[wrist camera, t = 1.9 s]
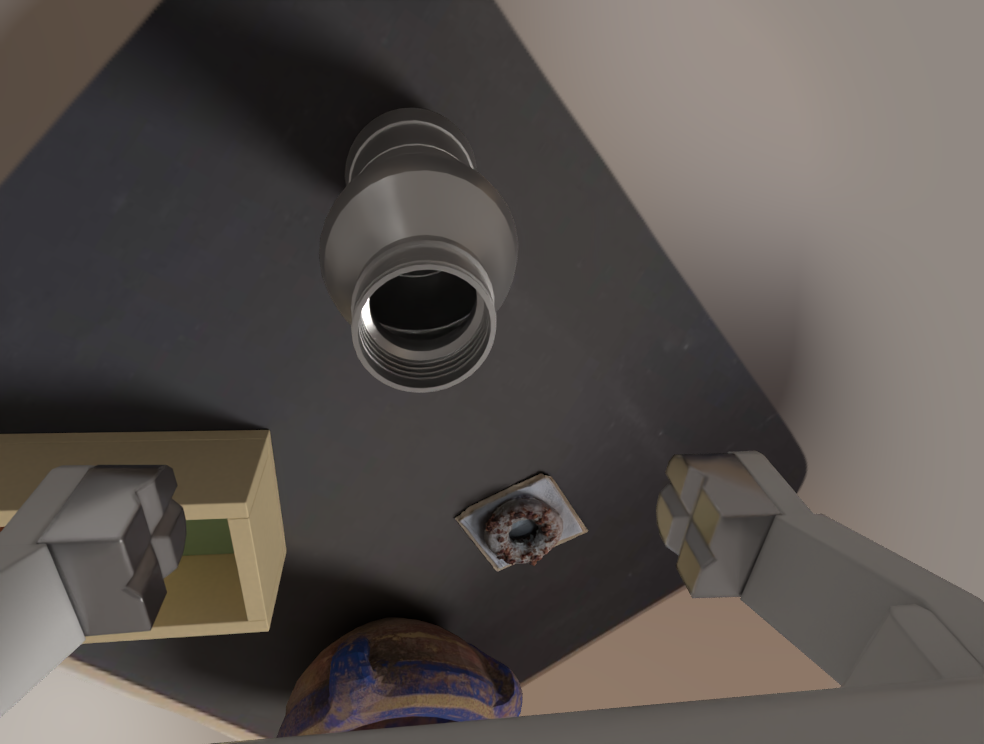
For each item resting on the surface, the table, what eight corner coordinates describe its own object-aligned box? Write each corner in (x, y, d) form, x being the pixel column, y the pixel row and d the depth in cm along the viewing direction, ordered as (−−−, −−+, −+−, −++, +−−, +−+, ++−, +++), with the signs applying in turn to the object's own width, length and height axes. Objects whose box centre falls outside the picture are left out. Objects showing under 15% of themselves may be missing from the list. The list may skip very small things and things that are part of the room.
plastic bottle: (322, 163, 31) (227, 333, 14) (415, 71, 29) (436, 134, 12) (407, 250, 34) (415, 477, 17) (496, 170, 32) (603, 332, 15)
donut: (548, 468, 44) (555, 486, 42) (586, 530, 48) (593, 549, 46) (451, 514, 45) (454, 534, 43) (496, 571, 49) (500, 591, 47)
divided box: (-101, 435, 36) (-202, 517, 30) (269, 429, 39) (246, 502, 33) (-32, 565, 41) (-105, 656, 35) (286, 550, 45) (269, 631, 39)
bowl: (432, 723, 59) (438, 841, 51) (258, 686, 52) (231, 814, 44) (533, 616, 53) (558, 731, 44) (349, 558, 46) (337, 680, 37)
